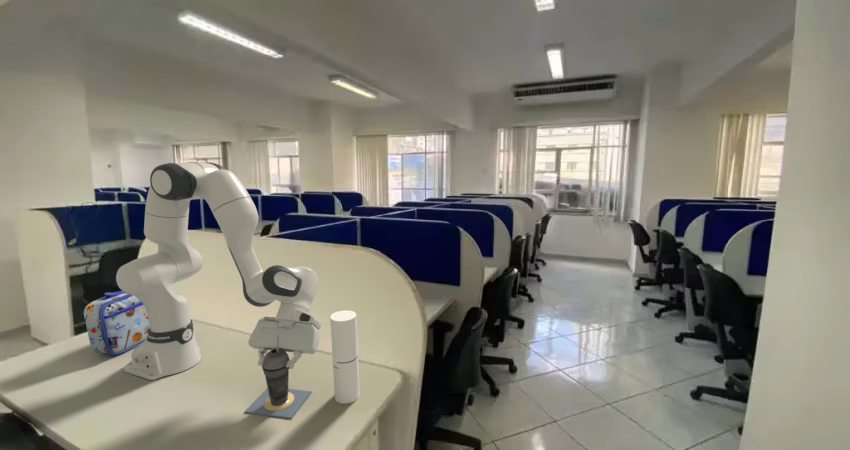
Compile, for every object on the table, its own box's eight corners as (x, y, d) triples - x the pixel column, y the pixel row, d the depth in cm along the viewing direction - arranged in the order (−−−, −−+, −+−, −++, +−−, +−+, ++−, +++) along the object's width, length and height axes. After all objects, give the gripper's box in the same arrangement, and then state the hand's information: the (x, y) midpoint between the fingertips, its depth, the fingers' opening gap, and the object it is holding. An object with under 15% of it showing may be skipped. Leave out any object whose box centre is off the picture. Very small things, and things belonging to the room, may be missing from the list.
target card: (244, 412, 96) (244, 411, 96) (268, 387, 107) (268, 386, 107) (291, 418, 94) (291, 417, 94) (311, 392, 104) (311, 391, 104)
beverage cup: (271, 392, 104) (265, 329, 100) (296, 392, 104) (291, 329, 100) (261, 410, 96) (254, 342, 93) (288, 408, 97) (282, 341, 93)
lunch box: (108, 364, 120) (97, 303, 116) (84, 360, 122) (72, 300, 118) (178, 327, 146) (171, 277, 143) (158, 325, 148) (150, 275, 145)
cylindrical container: (353, 405, 99) (350, 322, 94) (330, 402, 100) (325, 320, 96) (363, 389, 106) (360, 311, 101) (341, 386, 107) (337, 309, 103)
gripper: (254, 312, 105) (235, 360, 97) (319, 317, 101) (303, 367, 93) (265, 320, 110) (247, 366, 102) (326, 324, 106) (313, 373, 98)
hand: (275, 366), depth 98 cm, fingers closed on beverage cup, 7 cm apart
